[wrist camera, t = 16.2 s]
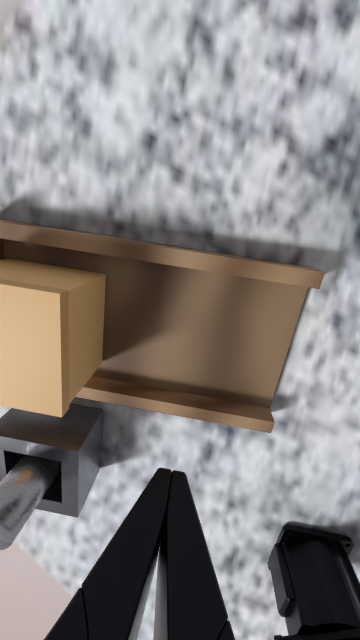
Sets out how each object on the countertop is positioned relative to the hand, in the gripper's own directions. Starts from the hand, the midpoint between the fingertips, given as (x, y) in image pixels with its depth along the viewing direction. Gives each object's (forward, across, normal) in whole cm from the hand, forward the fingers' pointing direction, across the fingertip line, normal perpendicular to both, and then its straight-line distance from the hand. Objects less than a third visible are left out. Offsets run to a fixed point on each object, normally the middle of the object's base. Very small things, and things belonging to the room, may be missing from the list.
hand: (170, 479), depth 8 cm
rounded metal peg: (+10, +10, +12) cm, 19 cm away
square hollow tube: (+12, +10, +12) cm, 20 cm away
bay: (+12, +4, 0) cm, 13 cm away
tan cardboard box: (+12, +10, 0) cm, 16 cm away
